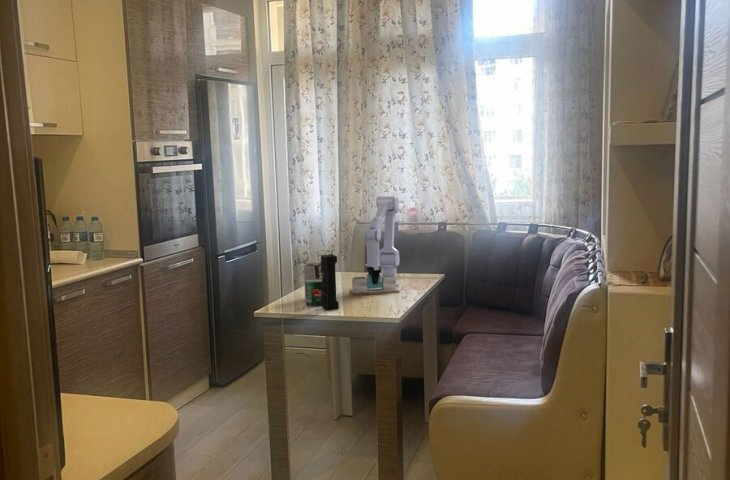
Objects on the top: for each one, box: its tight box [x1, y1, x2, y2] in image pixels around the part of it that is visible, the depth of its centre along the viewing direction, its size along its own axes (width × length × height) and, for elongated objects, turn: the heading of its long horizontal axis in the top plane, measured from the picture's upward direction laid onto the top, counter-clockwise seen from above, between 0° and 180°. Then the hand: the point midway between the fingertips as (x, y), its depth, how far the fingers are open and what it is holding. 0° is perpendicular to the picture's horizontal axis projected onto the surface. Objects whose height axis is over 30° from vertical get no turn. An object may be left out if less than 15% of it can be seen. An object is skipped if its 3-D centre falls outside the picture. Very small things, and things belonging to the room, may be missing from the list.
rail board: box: [349, 275, 400, 297], centre depth 322 cm, size 9×22×8 cm, turn 100°
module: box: [365, 273, 382, 289], centre depth 322 cm, size 4×6×6 cm
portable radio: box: [320, 249, 340, 312], centre depth 288 cm, size 8×6×25 cm
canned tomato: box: [304, 279, 322, 308], centre depth 297 cm, size 8×8×11 cm
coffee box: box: [303, 262, 322, 302], centre depth 310 cm, size 9×6×16 cm
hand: (374, 283), depth 322 cm, fingers closed on module, 4 cm apart
